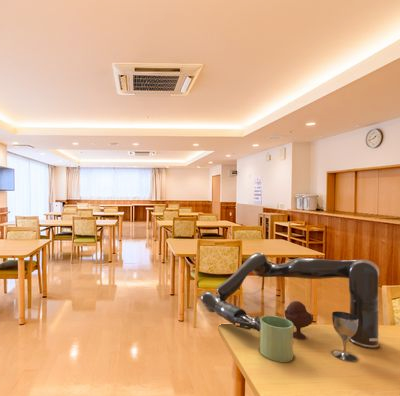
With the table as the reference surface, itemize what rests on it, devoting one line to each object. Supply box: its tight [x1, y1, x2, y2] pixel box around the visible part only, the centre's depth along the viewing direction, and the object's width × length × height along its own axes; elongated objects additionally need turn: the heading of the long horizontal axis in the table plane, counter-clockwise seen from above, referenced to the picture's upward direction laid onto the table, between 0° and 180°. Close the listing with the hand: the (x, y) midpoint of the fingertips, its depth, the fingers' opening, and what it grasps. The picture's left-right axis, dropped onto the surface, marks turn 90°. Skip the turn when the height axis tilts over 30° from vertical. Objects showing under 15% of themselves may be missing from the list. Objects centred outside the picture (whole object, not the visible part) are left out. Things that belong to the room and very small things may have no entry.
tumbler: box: [259, 315, 295, 363], centre depth 108 cm, size 11×11×12 cm
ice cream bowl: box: [283, 300, 314, 340], centre depth 122 cm, size 11×11×15 cm
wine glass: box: [331, 310, 358, 362], centre depth 107 cm, size 8×8×15 cm
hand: (263, 330), depth 114 cm, fingers closed
